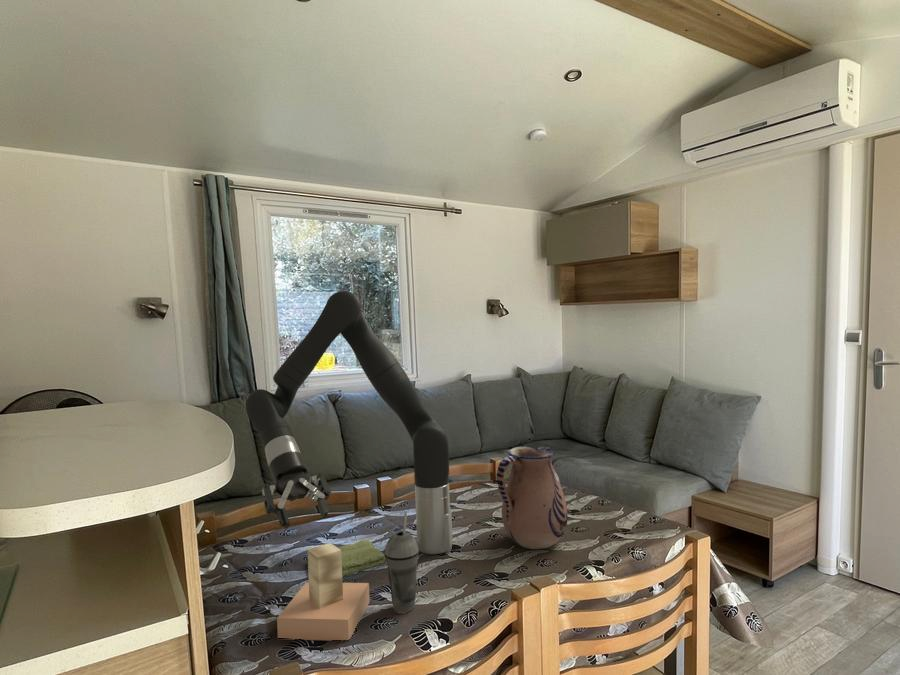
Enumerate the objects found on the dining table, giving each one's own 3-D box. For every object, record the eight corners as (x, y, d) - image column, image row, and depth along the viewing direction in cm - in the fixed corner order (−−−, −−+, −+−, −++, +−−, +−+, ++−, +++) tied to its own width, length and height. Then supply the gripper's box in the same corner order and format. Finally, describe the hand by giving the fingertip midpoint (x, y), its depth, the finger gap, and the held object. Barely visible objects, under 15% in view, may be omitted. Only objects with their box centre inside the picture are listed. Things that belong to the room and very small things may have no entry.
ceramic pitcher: (581, 540, 135) (577, 447, 135) (537, 568, 119) (533, 464, 119) (527, 525, 147) (523, 440, 147) (481, 549, 131) (477, 455, 131)
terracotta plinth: (369, 601, 107) (368, 583, 107) (348, 641, 93) (348, 619, 93) (307, 600, 109) (306, 582, 109) (277, 639, 95) (277, 618, 95)
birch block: (332, 590, 105) (330, 542, 105) (343, 599, 101) (341, 550, 101) (309, 599, 102) (307, 550, 102) (320, 608, 98) (317, 557, 98)
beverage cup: (387, 599, 108) (383, 507, 108) (421, 597, 108) (417, 505, 108) (385, 618, 100) (381, 519, 100) (421, 615, 101) (417, 516, 101)
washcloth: (305, 565, 128) (304, 552, 128) (370, 548, 137) (369, 536, 137) (319, 585, 116) (319, 571, 116) (389, 565, 125) (388, 552, 125)
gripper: (257, 456, 110) (277, 521, 101) (318, 445, 119) (342, 504, 110) (250, 475, 114) (270, 539, 105) (310, 463, 123) (332, 522, 114)
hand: (306, 521), depth 108 cm, fingers open, 8 cm apart
